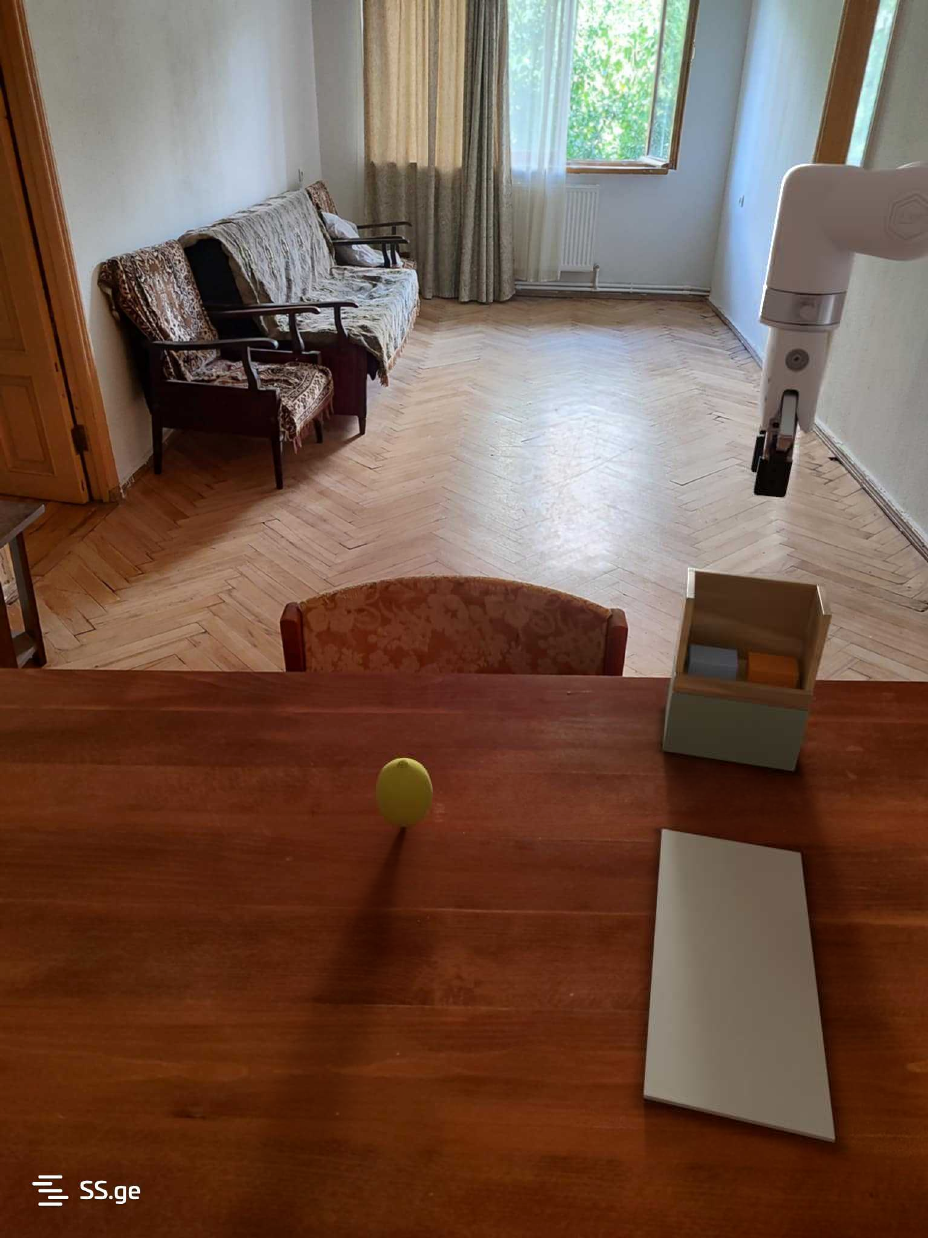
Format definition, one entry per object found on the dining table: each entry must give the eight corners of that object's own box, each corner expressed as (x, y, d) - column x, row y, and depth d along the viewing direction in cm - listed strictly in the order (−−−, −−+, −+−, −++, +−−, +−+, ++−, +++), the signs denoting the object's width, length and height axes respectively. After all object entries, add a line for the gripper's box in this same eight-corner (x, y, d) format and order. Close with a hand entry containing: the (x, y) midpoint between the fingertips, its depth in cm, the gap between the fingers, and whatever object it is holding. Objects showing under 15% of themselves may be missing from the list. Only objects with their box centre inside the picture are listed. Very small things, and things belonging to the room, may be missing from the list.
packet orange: (745, 666, 97) (748, 651, 96) (792, 673, 96) (796, 657, 95) (746, 684, 94) (749, 668, 93) (795, 690, 93) (799, 675, 92)
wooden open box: (674, 653, 101) (688, 566, 95) (802, 670, 98) (824, 582, 93) (672, 691, 94) (686, 601, 89) (809, 711, 91) (833, 619, 86)
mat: (661, 831, 87) (662, 828, 87) (799, 855, 84) (800, 852, 84) (643, 1098, 63) (644, 1095, 63) (834, 1143, 61) (835, 1139, 61)
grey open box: (665, 710, 105) (674, 653, 101) (788, 728, 102) (802, 671, 98) (662, 751, 98) (671, 692, 94) (794, 771, 95) (809, 712, 91)
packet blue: (687, 659, 98) (690, 643, 97) (734, 665, 97) (737, 650, 96) (687, 676, 95) (689, 660, 94) (734, 682, 94) (737, 666, 93)
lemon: (426, 847, 85) (426, 783, 81) (370, 840, 86) (367, 776, 82) (437, 808, 90) (437, 746, 86) (384, 802, 90) (381, 740, 86)
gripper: (854, 328, 77) (811, 518, 86) (831, 294, 92) (797, 460, 101) (765, 323, 79) (732, 510, 88) (757, 290, 93) (729, 454, 102)
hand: (767, 482), depth 94 cm, fingers open, 6 cm apart
